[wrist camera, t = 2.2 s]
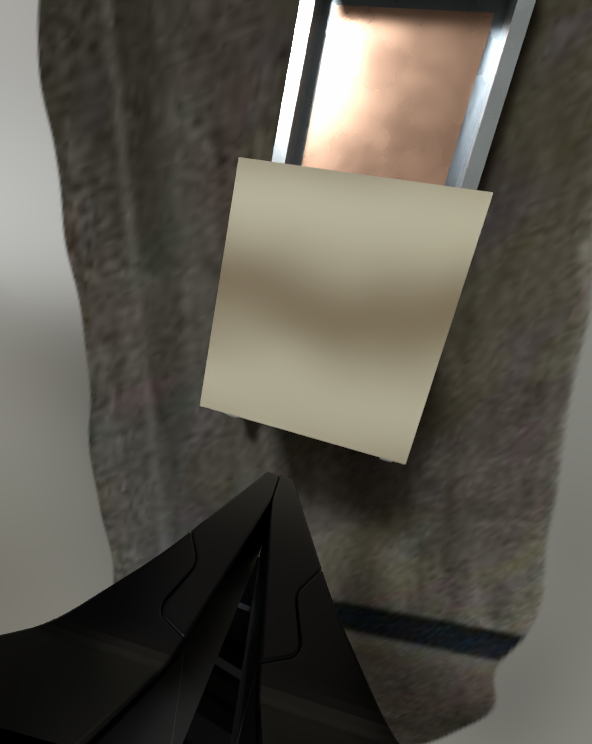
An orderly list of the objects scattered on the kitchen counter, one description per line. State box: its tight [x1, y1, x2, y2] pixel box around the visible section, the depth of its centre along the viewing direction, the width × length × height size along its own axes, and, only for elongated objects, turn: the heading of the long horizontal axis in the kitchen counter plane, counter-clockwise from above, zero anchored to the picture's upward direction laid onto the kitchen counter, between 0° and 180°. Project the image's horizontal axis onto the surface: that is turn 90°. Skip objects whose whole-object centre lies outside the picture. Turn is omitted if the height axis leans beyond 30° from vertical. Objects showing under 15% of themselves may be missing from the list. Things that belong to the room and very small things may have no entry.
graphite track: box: [227, 0, 536, 462], centre depth 17 cm, size 29×12×4 cm, turn 167°
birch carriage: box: [200, 157, 493, 465], centre depth 15 cm, size 10×9×8 cm
